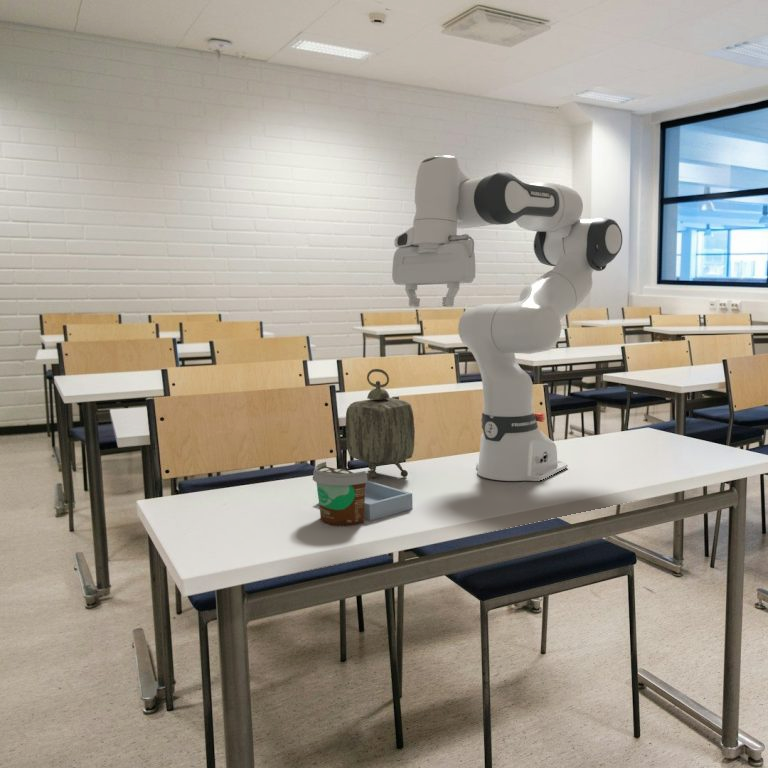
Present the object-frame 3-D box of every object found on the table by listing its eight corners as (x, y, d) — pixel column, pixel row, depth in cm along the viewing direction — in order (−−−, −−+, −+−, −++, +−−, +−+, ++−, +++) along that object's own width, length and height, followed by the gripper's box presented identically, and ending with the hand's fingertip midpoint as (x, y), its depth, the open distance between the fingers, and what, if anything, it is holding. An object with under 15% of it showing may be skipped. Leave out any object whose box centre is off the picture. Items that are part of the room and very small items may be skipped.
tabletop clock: (415, 477, 160) (413, 369, 157) (388, 485, 153) (385, 372, 150) (371, 467, 170) (368, 365, 167) (344, 475, 163) (340, 369, 160)
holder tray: (360, 492, 148) (359, 478, 148) (412, 508, 135) (412, 493, 135) (319, 502, 141) (318, 487, 141) (370, 520, 129) (369, 504, 128)
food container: (300, 519, 131) (298, 467, 130) (325, 511, 135) (323, 461, 134) (343, 533, 122) (341, 477, 121) (369, 524, 127) (367, 471, 125)
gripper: (484, 235, 134) (480, 307, 135) (410, 243, 149) (406, 308, 150) (463, 230, 130) (458, 304, 131) (389, 239, 145) (385, 305, 146)
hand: (430, 306), depth 140 cm, fingers open, 8 cm apart
